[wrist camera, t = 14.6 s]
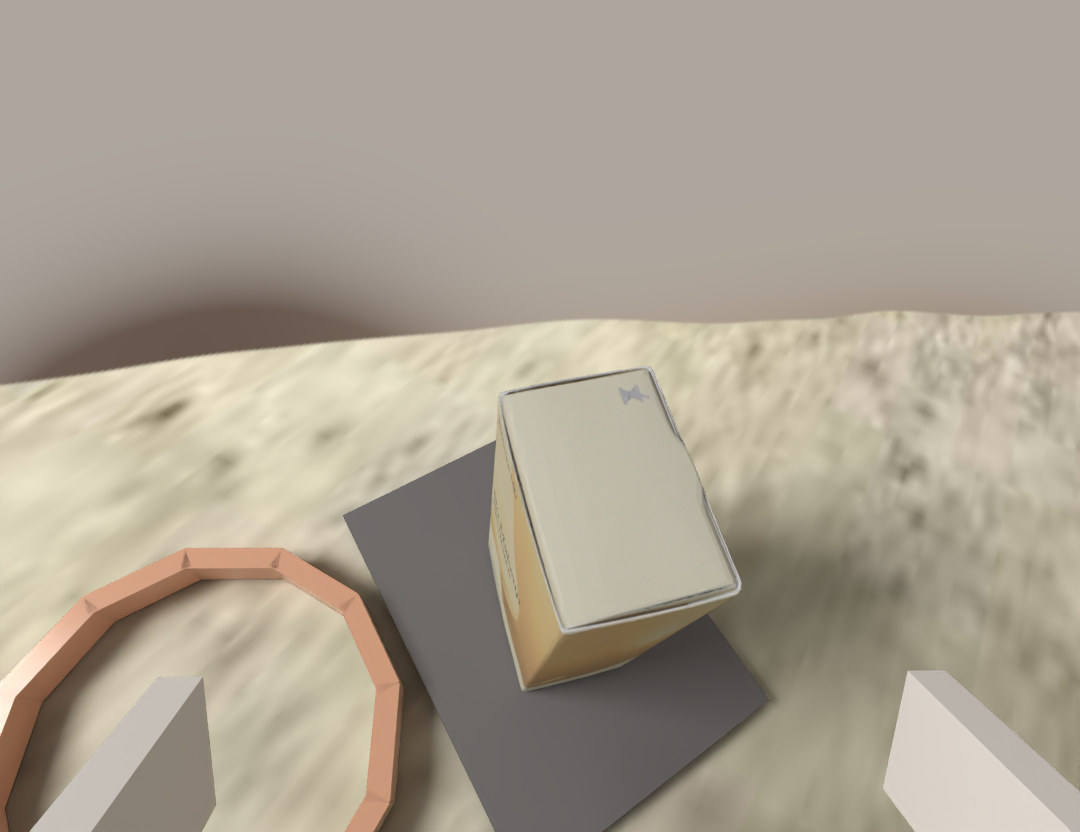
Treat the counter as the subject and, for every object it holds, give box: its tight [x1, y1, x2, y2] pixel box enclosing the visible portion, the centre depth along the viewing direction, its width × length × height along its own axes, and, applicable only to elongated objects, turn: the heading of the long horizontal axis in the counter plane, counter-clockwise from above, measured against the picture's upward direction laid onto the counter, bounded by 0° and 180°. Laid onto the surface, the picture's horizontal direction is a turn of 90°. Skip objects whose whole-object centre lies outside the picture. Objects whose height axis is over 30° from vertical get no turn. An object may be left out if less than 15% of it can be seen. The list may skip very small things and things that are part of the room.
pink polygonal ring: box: [0, 548, 404, 832], centre depth 21 cm, size 14×14×2 cm
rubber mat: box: [343, 440, 769, 832], centre depth 25 cm, size 11×15×1 cm
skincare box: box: [489, 366, 742, 692], centre depth 19 cm, size 6×4×12 cm
